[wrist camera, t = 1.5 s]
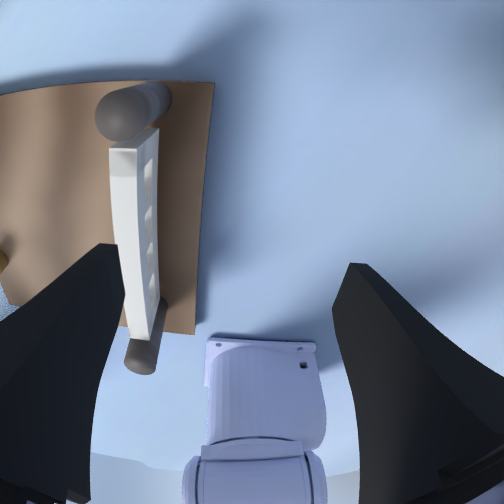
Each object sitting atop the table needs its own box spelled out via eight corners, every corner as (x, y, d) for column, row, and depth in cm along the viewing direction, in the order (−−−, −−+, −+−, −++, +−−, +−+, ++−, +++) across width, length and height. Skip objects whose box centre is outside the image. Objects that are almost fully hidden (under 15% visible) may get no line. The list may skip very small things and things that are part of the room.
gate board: (214, 83, 14) (201, 93, 9) (195, 325, 24) (188, 395, 19) (-29, 102, 12) (-93, 130, 7) (14, 297, 22) (-16, 348, 17)
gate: (160, 297, 20) (149, 340, 17) (143, 295, 20) (130, 338, 17) (159, 128, 14) (136, 148, 11) (136, 127, 14) (108, 148, 11)
